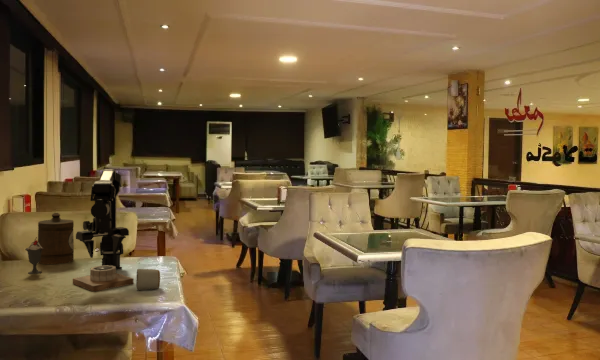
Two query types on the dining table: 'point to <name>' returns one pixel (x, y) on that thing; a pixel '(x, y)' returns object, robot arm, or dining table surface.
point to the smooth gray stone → (102, 268)
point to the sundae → (34, 255)
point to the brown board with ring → (102, 279)
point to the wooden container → (56, 240)
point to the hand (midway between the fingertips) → (103, 256)
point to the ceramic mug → (147, 279)
